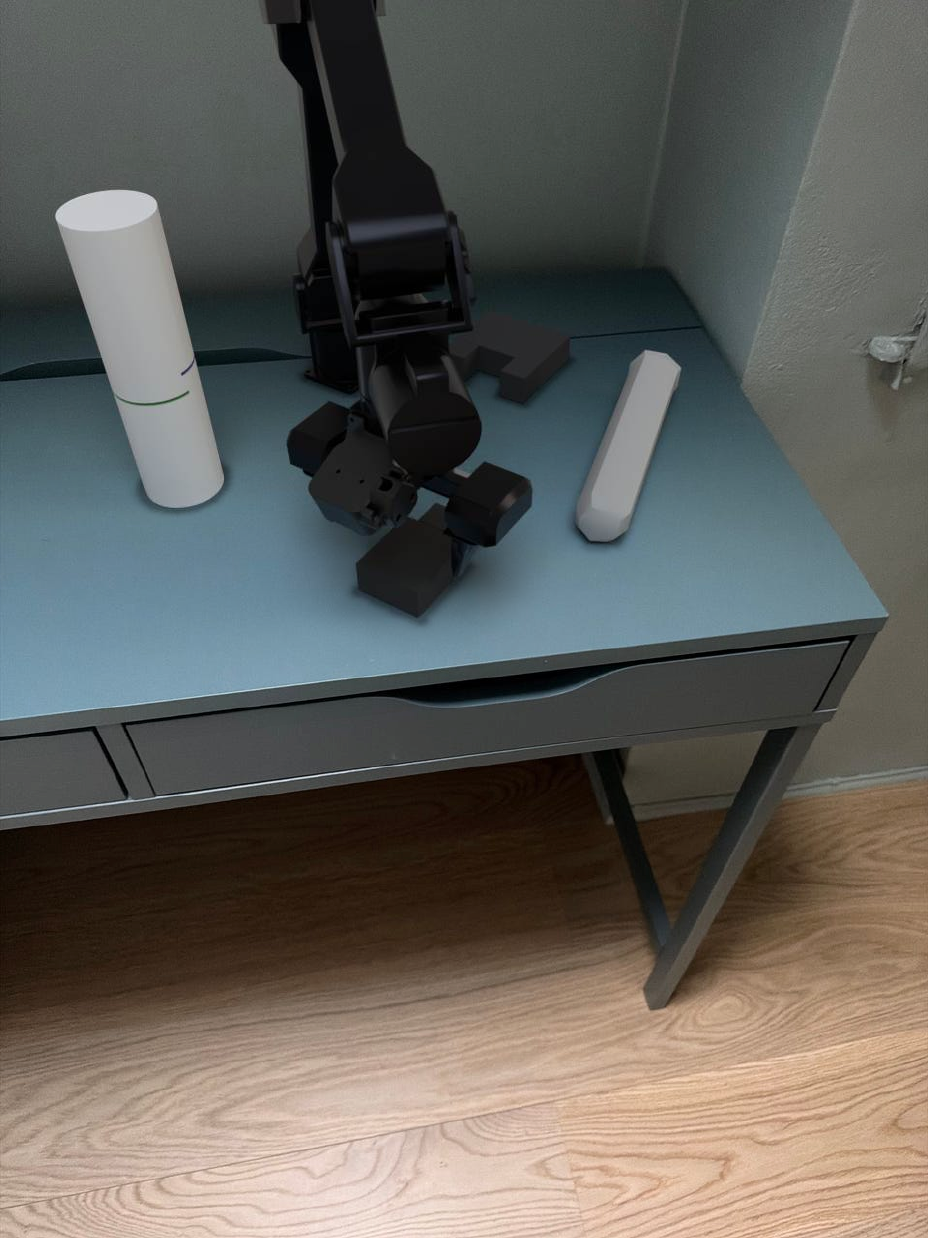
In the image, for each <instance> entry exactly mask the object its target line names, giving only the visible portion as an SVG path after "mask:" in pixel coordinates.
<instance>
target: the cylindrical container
mask: <svg viewBox="0 0 928 1238" xmlns="http://www.w3.org/2000/svg"><path fill="white" fill-rule="evenodd" d="M54 216H55V220H56V224H57V226H58V230H59V233H60V236H61V239H62V242H63V244H64V248H65V251H66V254H67V257H68V260H69V263H70V266H71V269H72V272H73V275H74V278H75V281H76V284H77V287H78V290H79V294H80V296H81V299H82V302H83V306H84V308H85V311H86V315H87V318H88V321H89V323H90V326H91V329H92V333H93V337H94V339H95V342H96V345H97V347H98V350H99V351H98V352H99V354H100V357H101V360H102V363H103V366H104V369H105V373H106V375H107V378H108V381H109V384H110V388H111V391H112V393H113V396H114V401H115V402H116V405H117V409H118V411H119V415H120V418H121V420H122V423H123V427H124V429H125V433H126V436H127V439H128V442H129V445H130V448H131V451H132V454H133V457H134V461H135V463H136V467H137V469H138V473H139V476H140V480H141V481H142V485H143V488H144V491H145V494H146V496H147V497H148V499H149V500H151V501H152V502H153V503H154V504H156V505H157V506H161V507H165V508H170V509H172V508H173V509H183V508H189V507H193V506H197V505H200V504H203V503H205V502H206V501H209V500H210V499H211V498H213V497H214V496H216V495H217V494H218V493H219V492H220V490H221V489H222V487H223V485H224V483H225V476H224V471H223V467H222V463H221V458H220V455H219V451H218V446H217V442H216V439H215V434H214V430H213V426H212V422H211V418H210V413H209V410H208V405H207V402H206V397H205V393H204V389H203V385H202V381H201V377H200V373H199V369H198V365H197V360H196V357H195V351H194V349H193V345H192V341H191V335H190V332H189V327H188V324H187V320H186V316H185V311H184V308H183V303H182V299H181V296H180V290H179V287H178V282H177V279H176V275H175V271H174V266H173V263H172V258H171V254H170V250H169V246H168V241H167V238H166V235H165V230H164V225H163V221H162V218H161V217H162V216H161V214H160V210H159V205H158V202H157V200H156V199H155V198H154V197H153V196H151V195H149V194H147V193H144V192H142V191H137V190H130V189H110V190H109V189H108V190H102V191H101V190H100V191H95V192H90V193H87V194H83V195H80V196H77V197H74V198H72V199H70V200H68V201H66V202H65V203H63V204H62V205H60V206H59V208H58V209H57V210H56V212H55V214H54Z"/></svg>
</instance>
